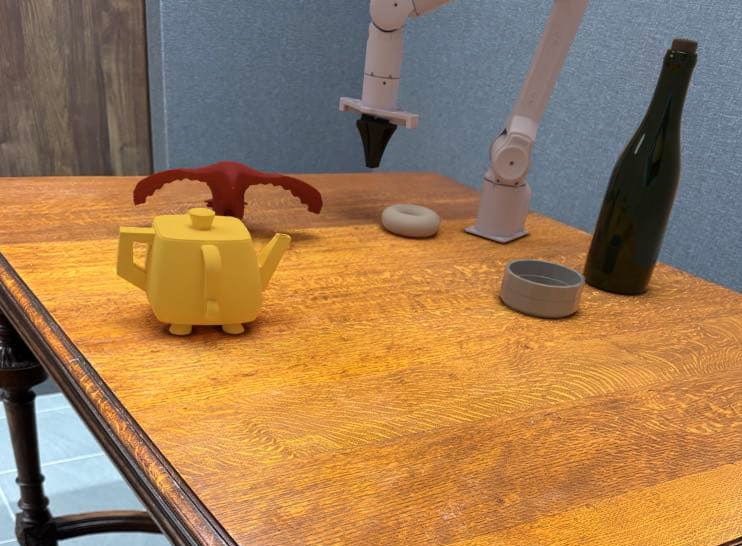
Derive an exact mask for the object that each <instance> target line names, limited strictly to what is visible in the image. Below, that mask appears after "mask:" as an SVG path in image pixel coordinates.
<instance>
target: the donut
mask: <svg viewBox="0 0 742 546" xmlns="http://www.w3.org/2000/svg"><path fill="white" fill-rule="evenodd" d="M381 222H382V225H383V227H384V228H385V229H387V230H388V231H390V232H392V233H394V234H396V235H399V236H404V237H409V238H427V237H431V236H433V235H435V234H436V233H437V232H438V231H439V229H440V227H441V219H440V217H439V215H438V213H437V212H435V211H434V210H433V209H430V208H428V207H426V206H422V205H417V204H411V203H396V204H395V203H394V204H392V205H389V206H387V207H386V208H385V209H384V210H383V212H382V213H381Z"/></svg>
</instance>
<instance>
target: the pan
mask: <svg viewBox="0 0 742 546" xmlns="http://www.w3.org/2000/svg"><path fill="white" fill-rule="evenodd" d="M585 284H586V280H585V277H584V276H583V274H582V273H581V272H580V271H578V270H576V269H573V268H572V267H569V266H567V265H563V264H560V263H557V262H554V261H548V260H543V259H533V258H532V259H531V258H521V259H513V260H511V261H508V262H506V263H505V266H504V271H503V274H502V280H501V284H500V290H499V293H498V296H499V298H501V300H502V301H503V303H504V304H505V305H506V306H507V307H509V308H510V309H513V310H514V311H517V312H519V313H523V314H525V315H528V316H534V317H538V318H548V319H557V318H559V319H560V318H566V317H568V316H570V315H572V314H574V313H575V312H578V309H579V305H580V303H581V298H582V295H583V291H584V288H585Z"/></svg>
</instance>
